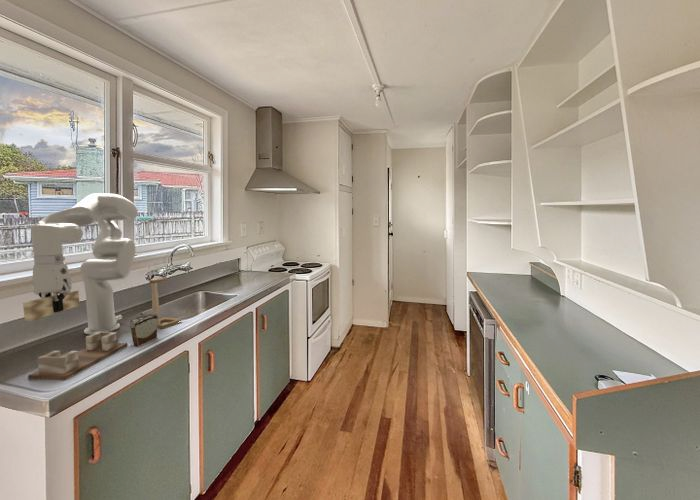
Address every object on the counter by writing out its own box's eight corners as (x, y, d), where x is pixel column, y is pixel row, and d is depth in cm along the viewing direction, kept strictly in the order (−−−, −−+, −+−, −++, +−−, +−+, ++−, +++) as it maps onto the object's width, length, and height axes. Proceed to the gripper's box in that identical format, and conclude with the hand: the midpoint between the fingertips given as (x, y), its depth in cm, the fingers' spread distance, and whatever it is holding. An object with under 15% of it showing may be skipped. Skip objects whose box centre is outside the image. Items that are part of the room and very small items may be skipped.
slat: (73, 305, 124) (72, 290, 124) (79, 305, 124) (78, 290, 124) (24, 320, 106) (22, 303, 106) (31, 321, 106) (29, 303, 106)
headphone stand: (182, 321, 155) (179, 276, 153) (164, 329, 144) (161, 280, 142) (163, 320, 157) (161, 275, 155) (144, 327, 147) (141, 279, 144)
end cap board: (97, 345, 126) (95, 330, 126) (127, 346, 126) (125, 330, 125) (28, 378, 101) (26, 359, 100) (65, 379, 100) (63, 360, 99)
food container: (147, 335, 137) (145, 312, 136) (159, 336, 136) (158, 313, 135) (121, 347, 125) (119, 321, 124) (134, 348, 124) (133, 323, 123)
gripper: (80, 258, 117) (85, 308, 119) (37, 258, 117) (43, 307, 119) (61, 261, 109) (66, 315, 111) (15, 261, 110) (21, 314, 112)
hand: (54, 310), depth 115 cm, fingers closed on slat, 2 cm apart
